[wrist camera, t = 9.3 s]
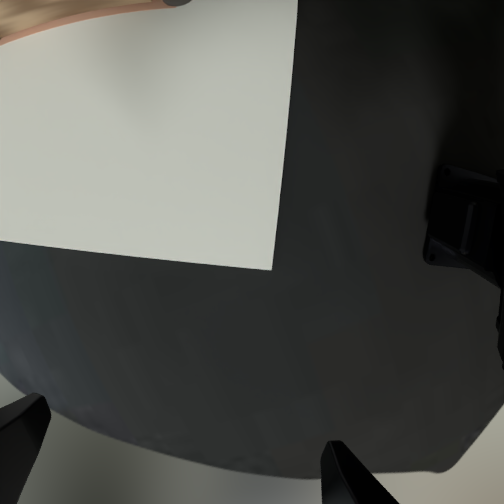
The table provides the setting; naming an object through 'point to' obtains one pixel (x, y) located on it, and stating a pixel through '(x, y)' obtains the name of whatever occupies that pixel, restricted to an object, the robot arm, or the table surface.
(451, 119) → the table surface
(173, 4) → the fence fixed section
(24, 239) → the card
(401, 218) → the table surface
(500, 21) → the table surface
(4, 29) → the fence panel
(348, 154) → the table surface
